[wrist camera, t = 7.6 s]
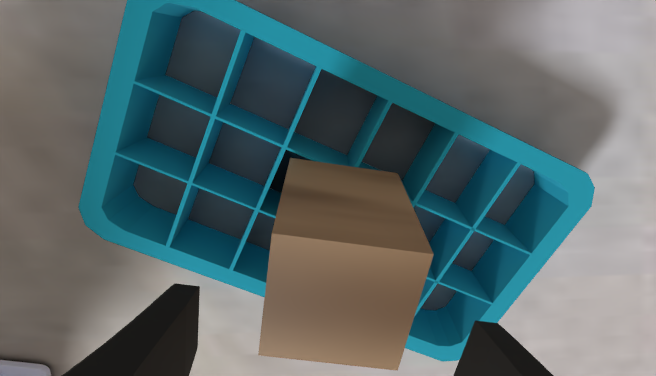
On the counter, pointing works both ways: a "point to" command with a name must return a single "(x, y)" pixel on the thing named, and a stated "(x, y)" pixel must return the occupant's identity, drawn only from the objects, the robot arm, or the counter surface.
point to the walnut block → (343, 267)
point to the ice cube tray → (251, 260)
